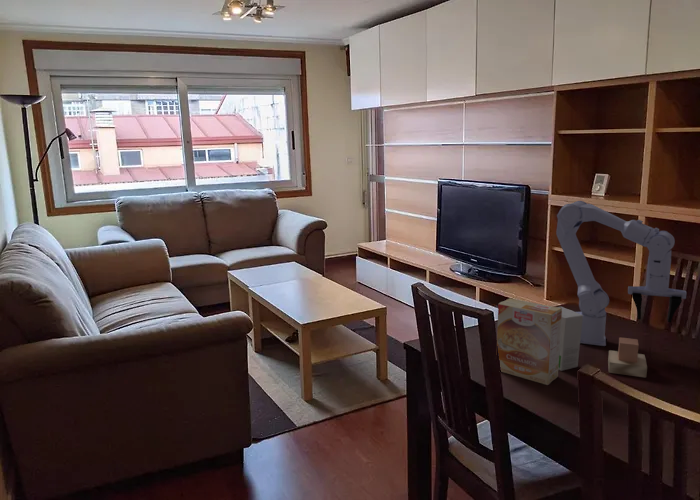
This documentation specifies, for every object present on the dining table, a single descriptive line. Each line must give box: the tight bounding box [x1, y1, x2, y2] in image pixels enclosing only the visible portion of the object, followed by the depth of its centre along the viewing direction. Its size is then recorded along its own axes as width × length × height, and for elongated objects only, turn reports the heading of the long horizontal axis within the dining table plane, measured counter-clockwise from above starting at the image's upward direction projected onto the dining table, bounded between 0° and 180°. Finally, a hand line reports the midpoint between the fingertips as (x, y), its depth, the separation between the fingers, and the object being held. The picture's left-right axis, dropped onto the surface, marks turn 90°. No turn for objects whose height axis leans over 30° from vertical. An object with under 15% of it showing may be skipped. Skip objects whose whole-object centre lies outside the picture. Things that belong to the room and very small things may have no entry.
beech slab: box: [607, 349, 648, 378], centre depth 150 cm, size 9×9×3 cm
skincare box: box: [556, 306, 583, 372], centre depth 153 cm, size 8×7×16 cm
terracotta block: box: [617, 337, 640, 363], centre depth 149 cm, size 4×4×5 cm
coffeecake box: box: [496, 297, 562, 386], centre depth 147 cm, size 15×7×20 cm, turn 47°
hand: (653, 319), depth 158 cm, fingers open, 7 cm apart
